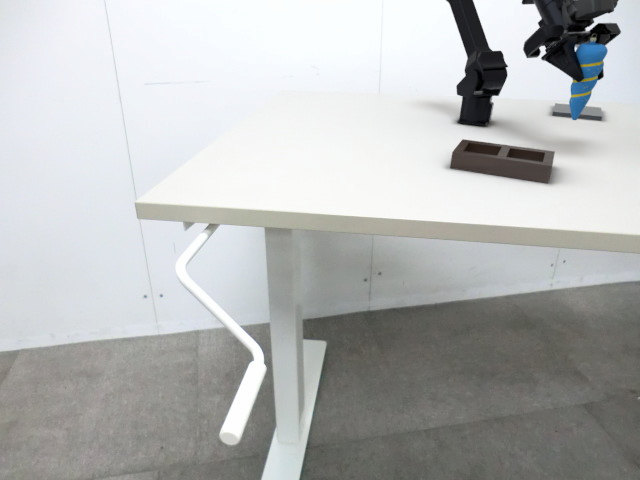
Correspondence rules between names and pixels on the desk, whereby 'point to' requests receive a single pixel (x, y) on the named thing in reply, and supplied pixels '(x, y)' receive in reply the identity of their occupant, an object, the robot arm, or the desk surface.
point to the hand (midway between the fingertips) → (591, 79)
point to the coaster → (586, 113)
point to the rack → (503, 160)
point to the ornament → (586, 75)
